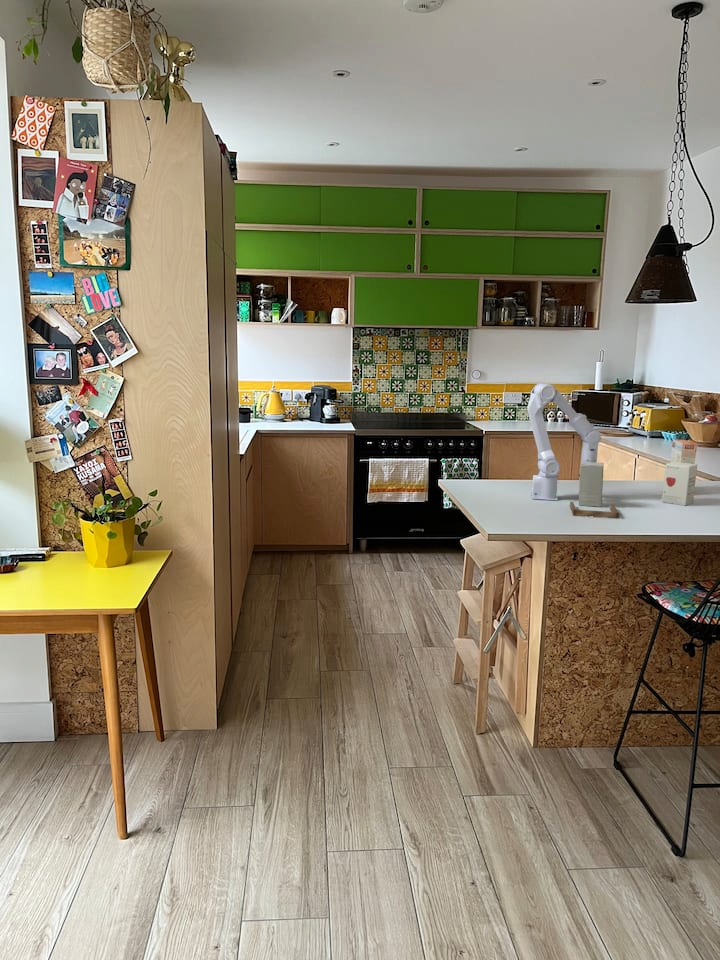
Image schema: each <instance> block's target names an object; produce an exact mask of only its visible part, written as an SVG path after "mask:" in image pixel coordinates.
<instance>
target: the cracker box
mask: <svg viewBox="0 0 720 960" xmlns="http://www.w3.org/2000/svg"><path fill="white" fill-rule="evenodd" d="M671 447H672V448H671V453H670V455H671V456H670V463H671V462H681V463H689V464H696V455H697V447H698V444H697V443H695V442H693V441H690V440H687V439H676V438H675V439H672V444H671Z"/></svg>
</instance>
